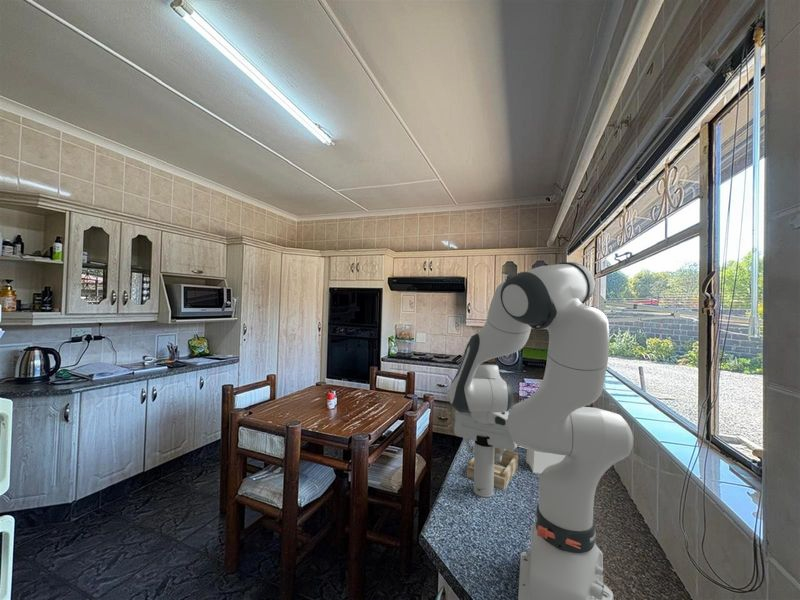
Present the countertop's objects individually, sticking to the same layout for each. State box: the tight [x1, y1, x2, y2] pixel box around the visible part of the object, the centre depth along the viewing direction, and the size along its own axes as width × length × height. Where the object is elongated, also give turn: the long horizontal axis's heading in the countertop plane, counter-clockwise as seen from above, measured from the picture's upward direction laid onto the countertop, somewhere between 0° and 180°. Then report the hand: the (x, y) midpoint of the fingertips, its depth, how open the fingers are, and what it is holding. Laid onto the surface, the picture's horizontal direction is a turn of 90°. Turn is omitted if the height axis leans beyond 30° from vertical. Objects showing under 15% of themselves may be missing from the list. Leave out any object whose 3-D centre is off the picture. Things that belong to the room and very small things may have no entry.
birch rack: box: [466, 446, 519, 491], centre depth 115 cm, size 18×13×7 cm
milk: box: [525, 448, 566, 474], centre depth 120 cm, size 12×12×26 cm
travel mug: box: [473, 435, 495, 499], centre depth 102 cm, size 6×7×20 cm
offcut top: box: [494, 464, 504, 476], centre depth 111 cm, size 5×9×2 cm, turn 58°
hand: (484, 456), depth 102 cm, fingers open, 8 cm apart
